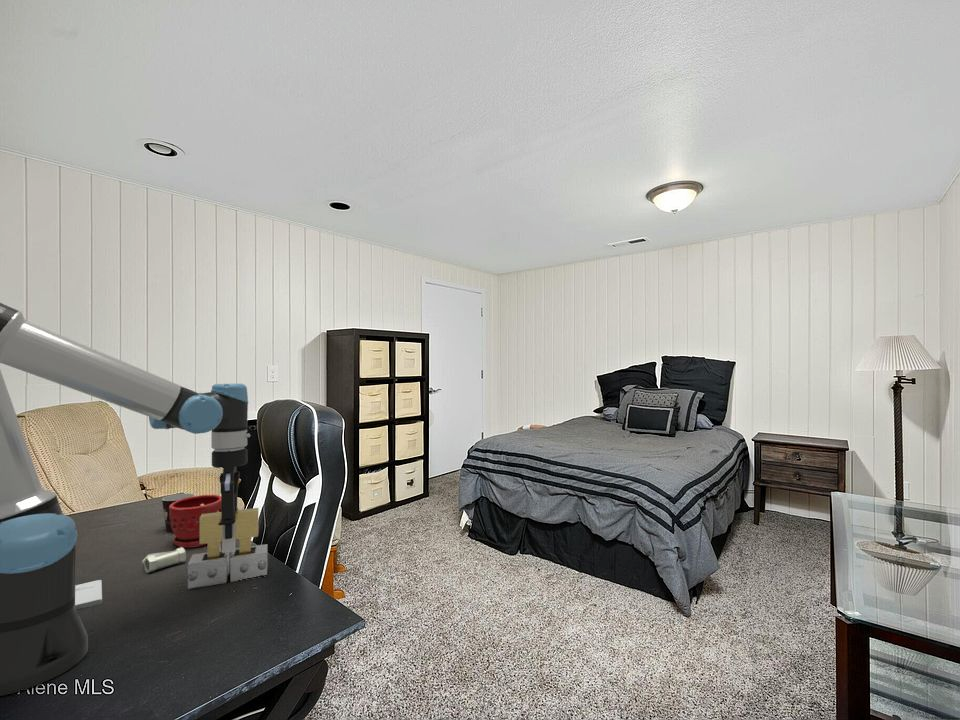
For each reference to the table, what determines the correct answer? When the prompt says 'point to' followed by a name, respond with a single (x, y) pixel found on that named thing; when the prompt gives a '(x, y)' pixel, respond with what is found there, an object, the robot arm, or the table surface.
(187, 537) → the plant pot
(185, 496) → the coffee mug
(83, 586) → the external hard drive
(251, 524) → the tan notched arch block
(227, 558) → the twin gray knob boxes
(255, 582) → the table surface
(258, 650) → the table surface
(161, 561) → the pipe fitting
